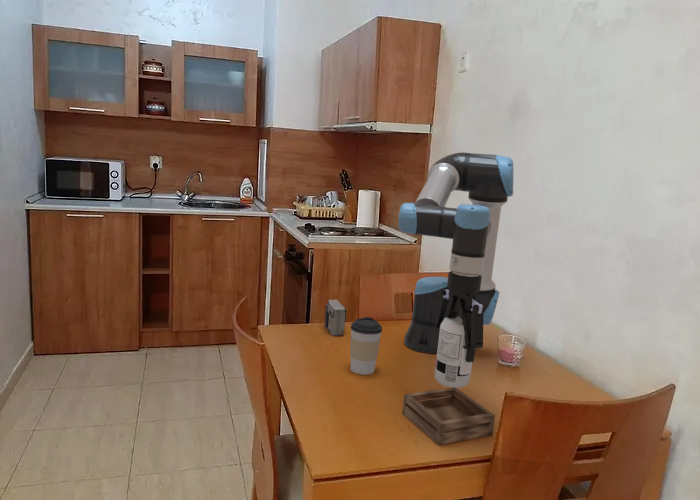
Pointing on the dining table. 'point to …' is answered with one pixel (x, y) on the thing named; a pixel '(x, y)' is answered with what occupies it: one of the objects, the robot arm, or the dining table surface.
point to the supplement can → (450, 354)
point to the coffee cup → (364, 345)
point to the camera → (335, 317)
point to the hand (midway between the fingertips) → (453, 366)
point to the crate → (448, 415)
